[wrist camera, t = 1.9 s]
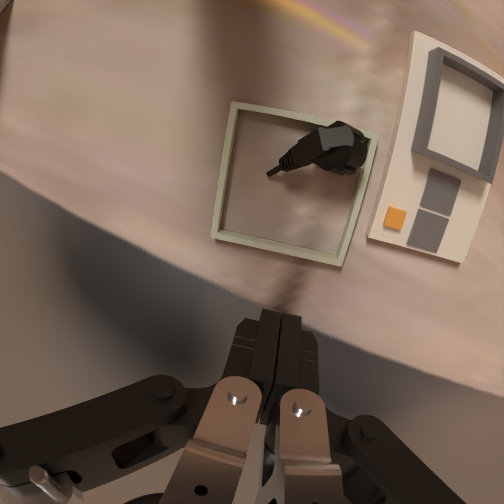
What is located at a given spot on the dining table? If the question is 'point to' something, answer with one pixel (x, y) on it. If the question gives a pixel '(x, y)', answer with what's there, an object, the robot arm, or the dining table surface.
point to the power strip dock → (440, 152)
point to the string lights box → (3, 4)
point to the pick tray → (274, 245)
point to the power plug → (327, 150)
